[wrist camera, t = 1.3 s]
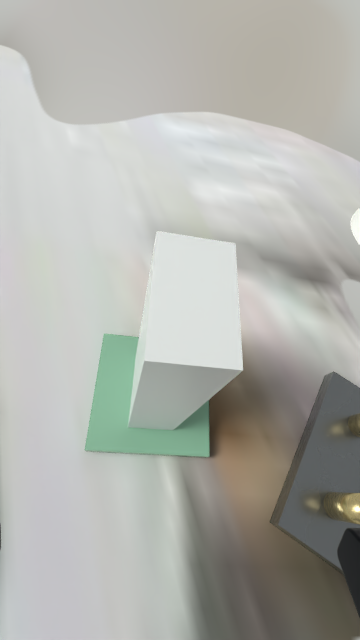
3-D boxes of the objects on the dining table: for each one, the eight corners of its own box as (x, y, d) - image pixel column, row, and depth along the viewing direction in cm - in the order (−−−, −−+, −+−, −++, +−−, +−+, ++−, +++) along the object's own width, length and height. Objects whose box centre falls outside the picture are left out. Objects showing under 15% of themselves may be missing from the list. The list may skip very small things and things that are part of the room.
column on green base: (205, 457, 21) (327, 427, 9) (86, 451, 20) (40, 407, 8) (205, 349, 25) (291, 224, 13) (104, 338, 24) (93, 190, 12)
